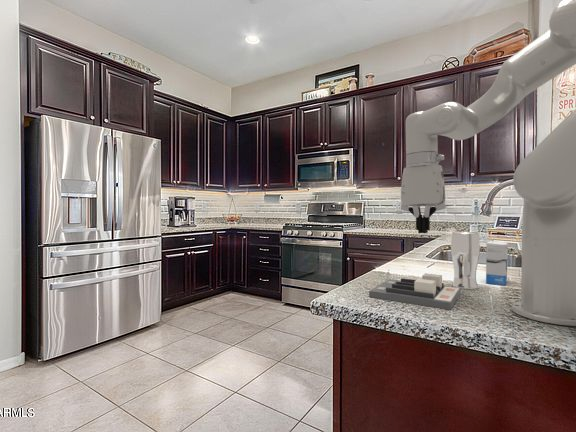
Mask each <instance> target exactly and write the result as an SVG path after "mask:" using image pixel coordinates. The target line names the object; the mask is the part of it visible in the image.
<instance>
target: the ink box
mask: <svg viewBox="0 0 576 432" xmlns="http://www.w3.org/2000/svg"><path fill="white" fill-rule="evenodd" d="M508 243H509V242H507V241H506V242H505V241H495V240H492V241H491V240H489V241H488V242H486V252H485V253H486V257H485V258H486V259H485V260H486V261H485V262H486V263H485V264H486V265H485V271H486V272H485V283H486V284H489V285H496V284H497V286H498V285H499V286H506V285H507V282H508V257H509V256H508V254H509V253H508V248H509V247H508V245H509V244H508Z"/></svg>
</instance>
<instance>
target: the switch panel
mask: <svg viewBox="0 0 576 432" xmlns="http://www.w3.org/2000/svg"><path fill="white" fill-rule="evenodd" d="M416 280H417V279H412V278H410V279H409V278H402V277H401V278H400V280H397V279H391V278H389V279H388V280H386V281H384V282H383V283H380V284H379V285H378V286H376V287H373V288H372V289H371V290H369V291H368V297H369V298H371V299H373V298H374V299H379V300H380V299H381V300H385V301H392V302H397V303H398V302H399V303H405V304H412V305H417V306H424V307H429V308H437V309H443V310H449V311H451V310H452V308H453V307H454V305H455V303H456V302H457V301H458V299H459V297H460V296H461V293H462V292H461V291H462V290H461V288H457V287H454V286H449V285H448V286H446V285H445V283H443V282H442V287H441V289H440V287H438V286H436V294H435V295H434V294H432V293H424V292H417V291H414V281H416Z"/></svg>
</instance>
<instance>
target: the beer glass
mask: <svg viewBox="0 0 576 432" xmlns="http://www.w3.org/2000/svg"><path fill="white" fill-rule="evenodd" d="M450 241H451V242H450V243H451V244H450V252H451V253H450V254H451V259H452V266H453V272H454V273H453V281H452V287H457V288H461V289H463V290H476V289H479V288H478V282H477V269H478V265H479V259H480V253H481V252H480V251H481V245H480V243H481V242H480V233H479V232H470V231H453V232H452V233H451V240H450Z"/></svg>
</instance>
